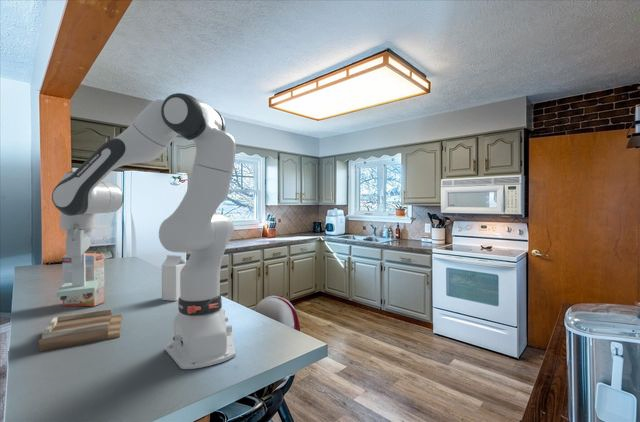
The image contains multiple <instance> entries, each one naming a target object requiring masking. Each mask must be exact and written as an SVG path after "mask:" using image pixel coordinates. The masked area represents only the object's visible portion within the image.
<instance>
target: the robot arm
mask: <svg viewBox="0 0 640 422" xmlns="http://www.w3.org/2000/svg"><path fill="white" fill-rule="evenodd" d="M179 135H180V136H181V137H182V138H184V139H186V140H188V141H190V140H192V141H193V143H194V144H195V156H194V158H193V159H194V160H193V166H192V169H191V175H190V177H189V182H188V186H187V190H186V191H185V194H184V196H183V197H182V200H181V201H180V203H179V205H178V206H177V208H176V209H175V210H174V211H173V212H172V213H171V215H169V216H168V217H167V218H166V219H164V220H163V221H162V222H161V224H160V226H159V229H158V239H159V242H160V243H161V246H162V247H163V248H164V249H165V250H166V251H169V252H172V253H181V254H187V253H190V256H189V257H188V260H187V262H185V263H186V264H185V266H184V267H183V268H182V270H181V272H180V297H179V300H178V302H177V307H178V313H177V315H175V316H174V317H173V319H172V335H171V336H172V337H171V339H172V340H171V342H169V343H168V344H166V345H165V347H164V348H165V351H166V353H168V355H169V356H170V357H171V358H172V360H173V361H174V362H175V363H176V364H177V365H178V367H179V368H180V369H182V370H193V369H200V368H206V367H209V366H213V365H217V364H220V363H223V362H226V361H228V360H231V359H232V358H234V357H235V356H236V350H235V349H236V347H235V343H234V337H233V326H232V325H233V324H226V323H227V322H229V317H228V316H226V311H225V309H224V308H223V307H222V306H223V305H222V303H223V302H222V301H223V299H222V294H221V293H220V287H221V285H220V282H221V281H220V280H221V278H220V277H221V267H222V262H223V259H224V254H225V251H226V247H228V244H229V242H230V240H231V239H232V238H233V235H234V233H235V225H234V223H233V220H232V219H231V218H230V217H228V216H227V215H225V214H222V213H217V212H216V211H217V210H218V208H219V207H220V205H221V204H222V203H224V202H225V201H226V199H227V198H228V196H229V191H230V187H231V183H232V182H231V181H232V177H233V173H234V168H235V161H236V150H237V149H236V148H237V146H236V141H235V138H234V136H232V134H230V133H228V131H226V121H225V119H224V117H223V115H221V113H220V112H219V111H217V110H216V109H215V108H213V107H211V106H210V105H209V104H208V103H206V102H204V101H203V100H201V99H199V98H195V97H194V96H193V95H191V94H186V93H183V92H181V93H180V92H179V93H178V92H177V93H172V94H169V95H168V96H167V97H165V99H162V98H161V99H155V100H153V101H151V103H150V104H148V105H147V106H146V107H145V108H144V109H143V110H141V112H140V113H139V114H138V115H137V116H136V117H135V119H134V120H133V122H132V123H130V125H129V126H128V127H127V128H126V129H125V130H124V131H122V132H121V133H120V134H118V135H117V136H116V137H114V138H111V139H109V140H108V141H105V143H103V144H101V145H100V147H98V148H97V149H96V150H95V151H94V152H93V153H92V154H91V155H90V156H89V157H87V159H86V160H85V161H84V162H83V163H82V164H81V165H80V166H79V167H78V168H77V169H76V170H75V171H69V172H67V173H65V174H63V176H62V177H61V181H59V183H57V185H56V186H55V187H54V188H53V190H52V193H51V200H52V204H53V205H54V206H55V208H56V209H57V210H58V211H59V212H60V213H59V217H60V218H59V219H60V221H59V222H60V228H59V229H60V230H65V255H66V256H67V257H73V262H74V268H81V266H82V262H81V257H82V254H83V253H86V251H87V250H88V249H89V248H90V246H91V241H92V234H93V233H92V229H96V227H97V226H96V225H97V224H96V223H97V218H96V215H97V214H108V213H114V212H117V211H118V210H120V208H121V207H122V206H123V203H124V193H123V191H122V189H121V187H119V185H117V184H114V183H112V182H111V183H110V182H108V181H105V180H104V179H105V178H106V177H107V176H108V175H109V174H110V173H111V172H112V171H114V170H116V169H117V168H120V167H123V166H127V165H133V164H139V163H142V164H143V163H150V162H153V161H155V160H156V159H158V158H159V157H160V156H161V155H162V154H163V153H164V152H166V150H167V148H168V147H169V146H170V144H171V143H172V142H173V141H174V139H175V138H176V137H177V136H179Z"/></svg>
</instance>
